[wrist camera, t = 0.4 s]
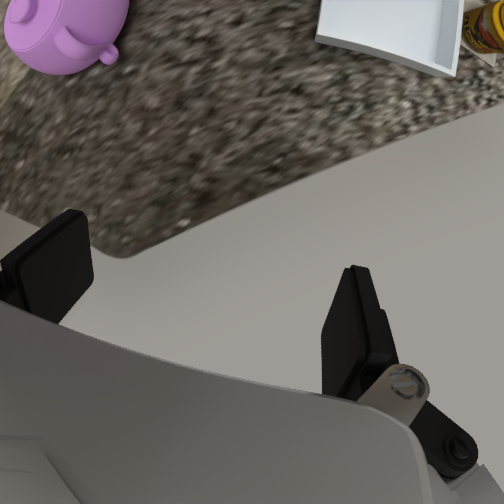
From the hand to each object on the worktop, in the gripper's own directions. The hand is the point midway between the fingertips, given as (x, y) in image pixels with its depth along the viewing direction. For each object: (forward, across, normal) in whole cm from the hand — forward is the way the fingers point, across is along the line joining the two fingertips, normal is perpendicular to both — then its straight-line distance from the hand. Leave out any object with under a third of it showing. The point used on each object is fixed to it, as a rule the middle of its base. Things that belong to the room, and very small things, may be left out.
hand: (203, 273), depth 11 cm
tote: (+30, -10, -23) cm, 39 cm away
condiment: (+30, -23, -22) cm, 44 cm away
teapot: (+30, +27, -17) cm, 44 cm away
